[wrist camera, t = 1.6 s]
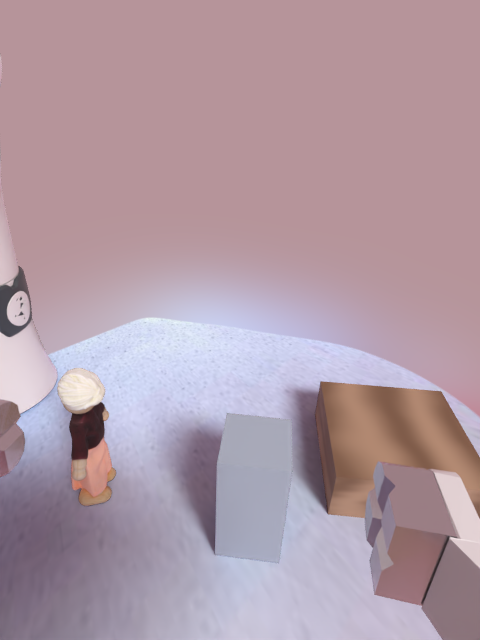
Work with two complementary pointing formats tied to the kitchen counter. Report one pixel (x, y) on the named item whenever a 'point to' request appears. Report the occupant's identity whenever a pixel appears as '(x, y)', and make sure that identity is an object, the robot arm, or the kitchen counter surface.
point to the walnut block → (387, 440)
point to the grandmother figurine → (87, 435)
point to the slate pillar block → (253, 487)
